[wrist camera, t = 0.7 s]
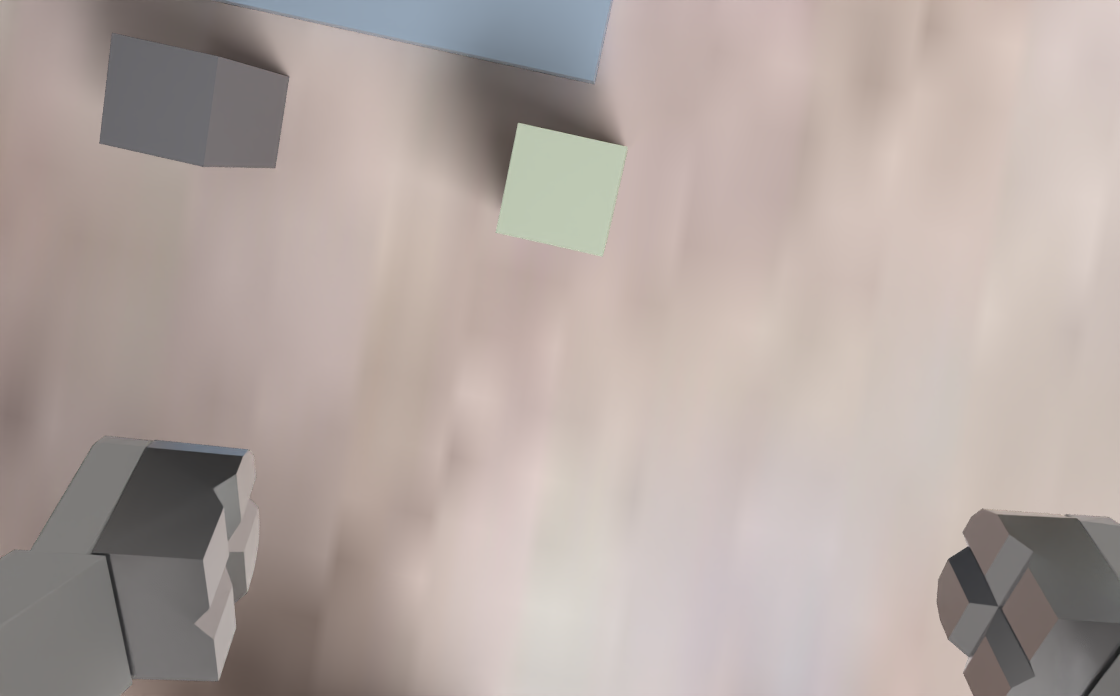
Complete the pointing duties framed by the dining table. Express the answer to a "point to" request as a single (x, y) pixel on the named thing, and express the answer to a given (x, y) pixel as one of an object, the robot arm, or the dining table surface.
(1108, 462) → the dining table surface
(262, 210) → the dining table surface
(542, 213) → the sage brick
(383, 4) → the blue-grey baseplate
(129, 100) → the charcoal brick
